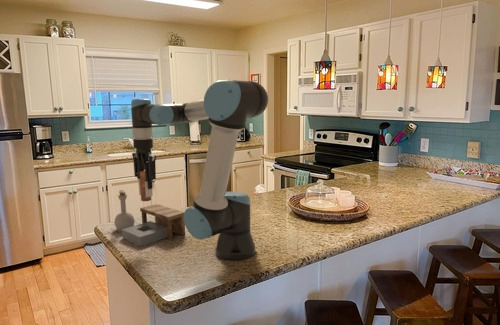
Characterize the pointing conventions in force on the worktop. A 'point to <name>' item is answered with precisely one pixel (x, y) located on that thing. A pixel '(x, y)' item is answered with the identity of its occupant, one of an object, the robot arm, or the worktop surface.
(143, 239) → the socket block
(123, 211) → the potion bottle
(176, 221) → the wooden bench
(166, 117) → the robot arm
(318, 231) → the worktop surface
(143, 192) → the peg
